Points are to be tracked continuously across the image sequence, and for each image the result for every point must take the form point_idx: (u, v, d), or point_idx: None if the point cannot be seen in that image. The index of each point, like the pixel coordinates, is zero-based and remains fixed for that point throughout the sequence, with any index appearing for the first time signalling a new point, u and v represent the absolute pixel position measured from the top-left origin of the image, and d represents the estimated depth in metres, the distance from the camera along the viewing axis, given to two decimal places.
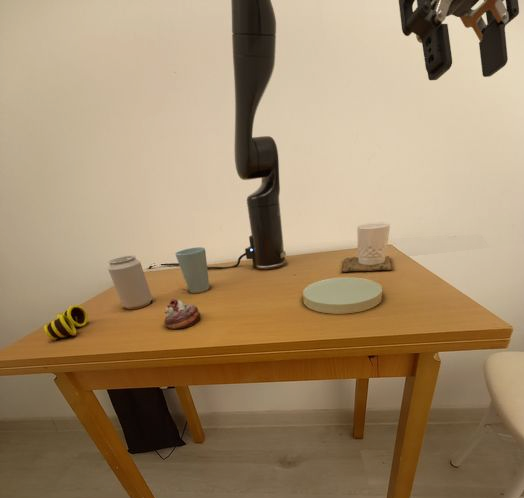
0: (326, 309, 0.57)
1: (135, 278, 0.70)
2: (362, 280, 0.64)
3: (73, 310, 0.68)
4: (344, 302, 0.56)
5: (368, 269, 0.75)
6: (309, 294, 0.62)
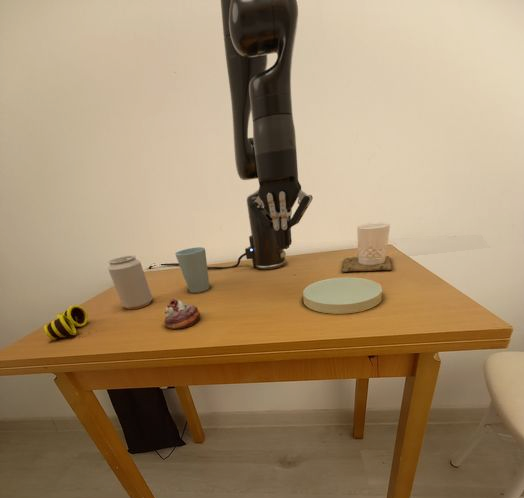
0: (326, 309, 0.57)
1: (135, 278, 0.70)
2: (362, 280, 0.64)
3: (73, 310, 0.68)
4: (344, 302, 0.56)
5: (368, 269, 0.75)
6: (309, 294, 0.62)
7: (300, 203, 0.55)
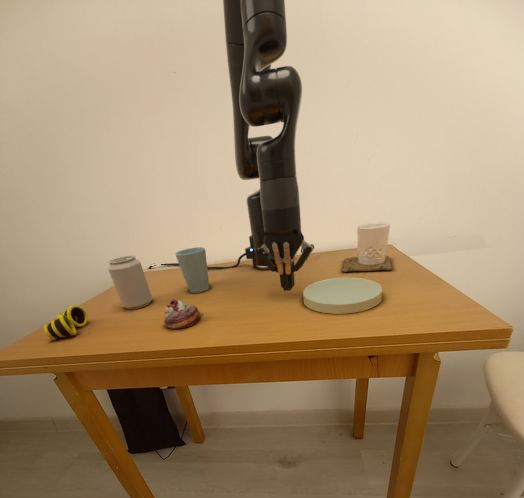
0: (326, 309, 0.57)
1: (135, 278, 0.70)
2: (362, 280, 0.64)
3: (73, 310, 0.68)
4: (344, 302, 0.56)
5: (368, 269, 0.75)
6: (309, 294, 0.62)
7: (303, 252, 0.60)
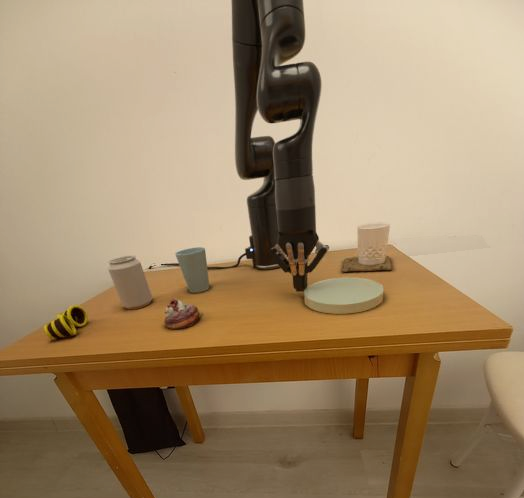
0: (327, 309, 0.57)
1: (135, 278, 0.70)
2: (363, 280, 0.64)
3: (73, 310, 0.68)
4: (345, 302, 0.56)
5: (368, 269, 0.75)
6: (310, 293, 0.62)
7: (317, 253, 0.58)
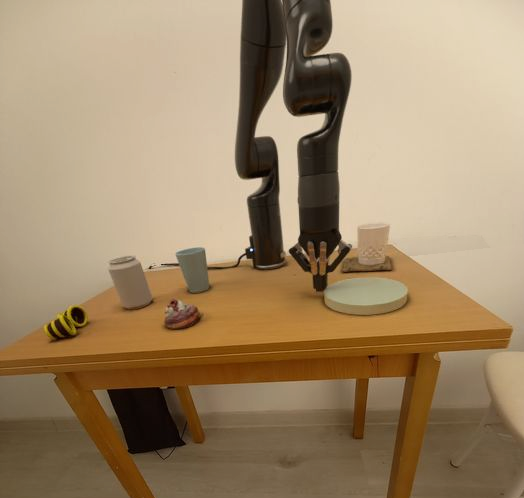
0: (350, 310, 0.55)
1: (135, 278, 0.70)
2: (385, 281, 0.62)
3: (73, 310, 0.68)
4: (369, 302, 0.54)
5: (368, 269, 0.75)
6: (331, 294, 0.60)
7: (340, 253, 0.57)
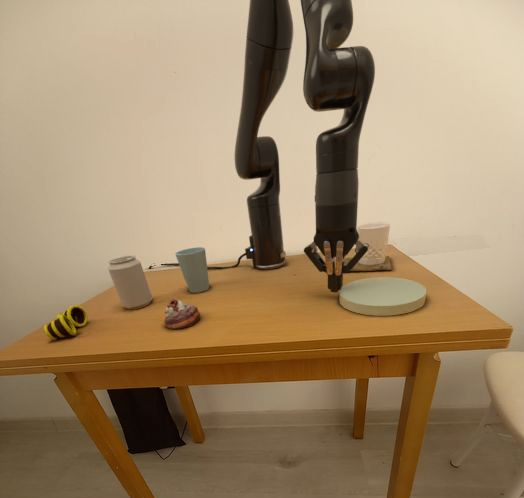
0: (368, 311, 0.54)
1: (135, 278, 0.70)
2: (402, 281, 0.61)
3: (73, 310, 0.68)
4: (388, 303, 0.53)
5: (368, 269, 0.75)
6: (347, 294, 0.59)
7: (358, 252, 0.55)
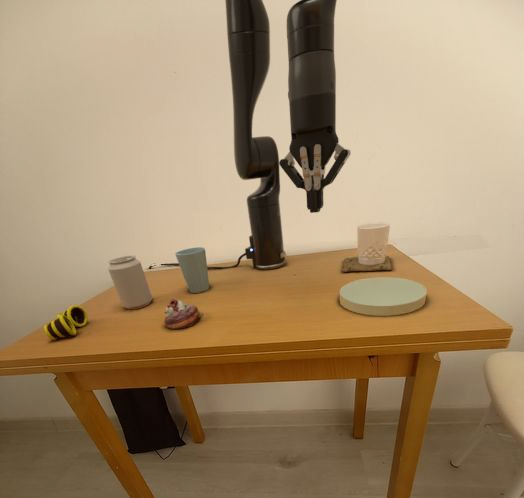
0: (369, 311, 0.54)
1: (135, 278, 0.70)
2: (402, 281, 0.61)
3: (73, 310, 0.68)
4: (388, 303, 0.53)
5: (368, 269, 0.75)
6: (347, 294, 0.59)
7: (337, 158, 0.50)
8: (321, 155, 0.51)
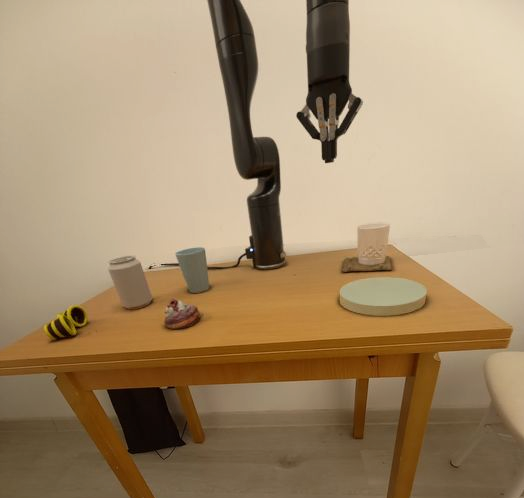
0: (369, 311, 0.54)
1: (135, 278, 0.70)
2: (402, 281, 0.61)
3: (73, 310, 0.68)
4: (388, 303, 0.53)
5: (368, 269, 0.75)
6: (347, 294, 0.59)
7: (351, 106, 0.54)
8: (336, 104, 0.55)
